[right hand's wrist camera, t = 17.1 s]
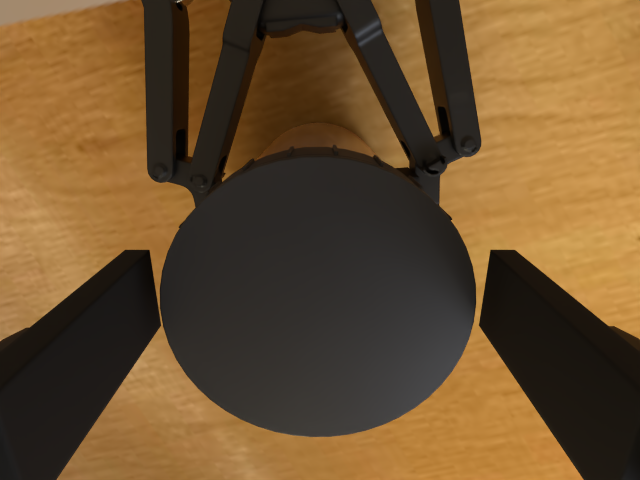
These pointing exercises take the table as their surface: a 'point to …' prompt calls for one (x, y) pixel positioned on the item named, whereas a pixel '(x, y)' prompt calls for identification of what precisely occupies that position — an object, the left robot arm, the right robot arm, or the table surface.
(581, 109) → the table surface
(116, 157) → the table surface
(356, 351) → the lid
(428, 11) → the left robot arm
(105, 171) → the table surface
